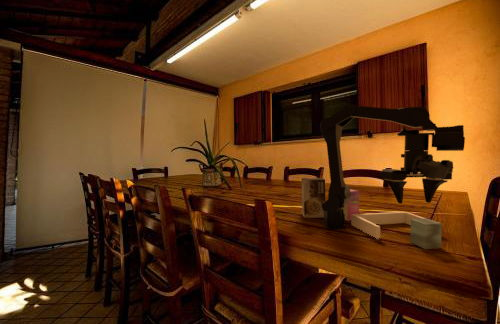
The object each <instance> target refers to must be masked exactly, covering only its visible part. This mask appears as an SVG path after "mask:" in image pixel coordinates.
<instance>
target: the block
mask: <svg viewBox="0 0 500 324" xmlns="http://www.w3.org/2000/svg"><path fill="white" fill-rule="evenodd" d="M423 218H424V219H411V225H410V240H409V241H410V243H411V244H413V245H415V246H418V247H419V248H421V249H424V250H431V249H432V250H433V248H434V249H442V234H443V233H442V232H443V227H442V226H443V223H442V222H439V223H438V221H436V220H433V221H432V219H429V218H426V217H423ZM435 221H436V222H435Z"/></svg>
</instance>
